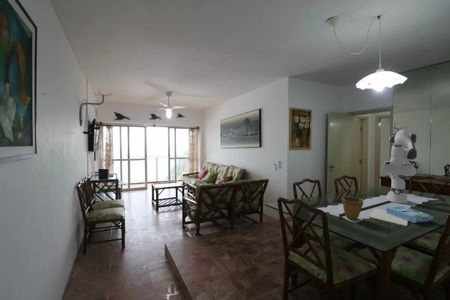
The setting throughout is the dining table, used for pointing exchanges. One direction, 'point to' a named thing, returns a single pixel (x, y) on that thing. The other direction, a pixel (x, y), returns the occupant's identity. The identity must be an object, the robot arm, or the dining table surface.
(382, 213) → the white flat board
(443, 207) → the dining table surface
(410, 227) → the dining table surface
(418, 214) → the gum box
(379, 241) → the dining table surface
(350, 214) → the plant pot
